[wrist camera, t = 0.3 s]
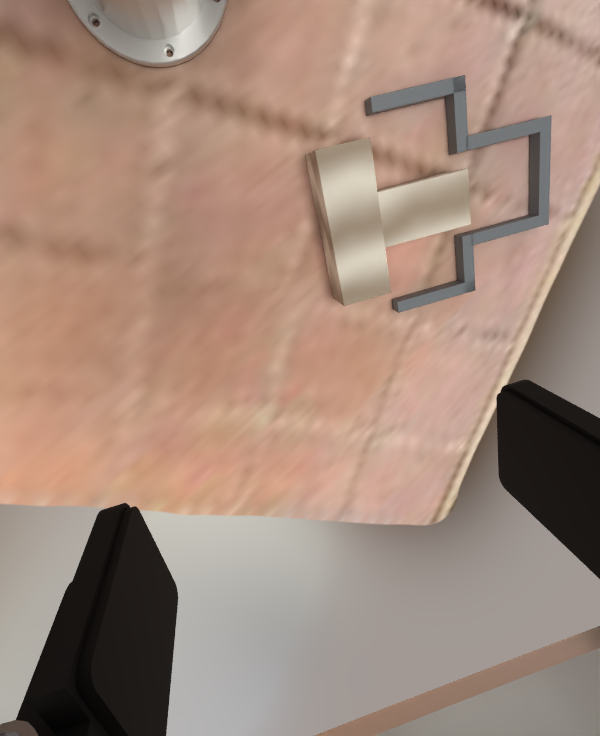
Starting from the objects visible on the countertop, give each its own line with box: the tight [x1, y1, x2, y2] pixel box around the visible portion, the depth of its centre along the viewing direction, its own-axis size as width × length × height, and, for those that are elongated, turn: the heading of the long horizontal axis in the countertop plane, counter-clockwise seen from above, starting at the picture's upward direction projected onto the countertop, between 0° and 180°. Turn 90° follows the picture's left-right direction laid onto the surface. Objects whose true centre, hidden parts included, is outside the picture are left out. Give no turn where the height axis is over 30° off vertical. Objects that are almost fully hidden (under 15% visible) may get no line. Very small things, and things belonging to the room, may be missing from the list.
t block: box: [305, 137, 471, 306], centre depth 40 cm, size 14×14×4 cm
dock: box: [365, 75, 551, 312], centre depth 42 cm, size 20×18×2 cm
